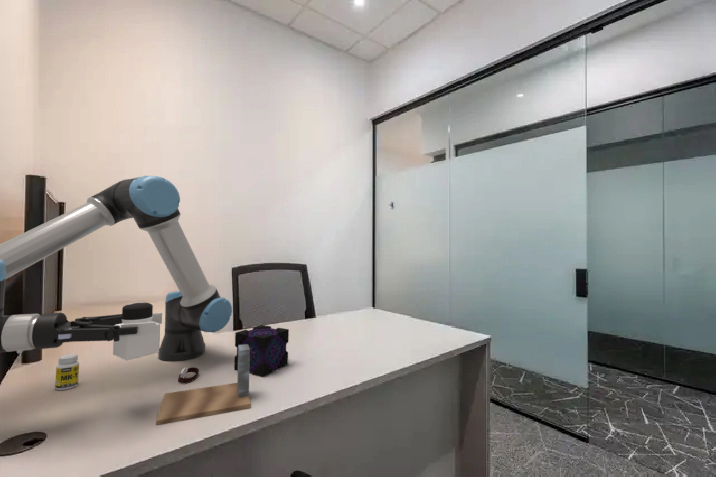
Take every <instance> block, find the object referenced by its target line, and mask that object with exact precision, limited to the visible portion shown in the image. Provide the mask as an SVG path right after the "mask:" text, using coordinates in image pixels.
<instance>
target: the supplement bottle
mask: <svg viewBox="0 0 716 477" xmlns="http://www.w3.org/2000/svg"><path fill="white" fill-rule="evenodd" d="M78 359H79V355H78V354H76V353H70V354H65V355H61V356H59V357H58V361H57V362H58V363H57V365H56V367H55V383H54V384H55V386H54V388H55V390H57V391H64V390H66V391H67V390H69V389H73V388H75V387H77V386H78V385H79V376H80V373H79V372H80V362H79V360H78Z"/></svg>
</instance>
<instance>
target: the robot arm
mask: <svg viewBox="0 0 716 477" xmlns="http://www.w3.org/2000/svg"><path fill="white" fill-rule="evenodd" d="M180 196H181V195H180V193H179V191H178V188H177V187H176V186H175V185H174V184H173V183H172V182H171V181H170V180H168V179H166V178H165V177H161V176H157V175H143V176H142V175H141V176H138V177H134V178H128V179H127V178H126V179H123V180H120V181H118V182H116V183H114V184H112V185H111V186H108V187H106V188H104V190H101V191H100V192H97V193H96V194H94V195H92V196H90V197H87V199H86V203H84V204H82V205H80V206H77V207H75V208H73V209H72V210H70V211H68V212H65V213H63V214H61V215H59V216H57V217H54V218H53V219H50V220H48V221H46V222H44V223H42V224H40V225H38V226H36V227H33V228H31V229H29V230H27V231H26V232H25V231H24V232H23V233H21V234H18V235H17V236H14V237H13V238H11V239H8V240H6V241H4V242H2V243H0V353H7V352H10V353H11V352H16V353H17V354H22V353H23V352H24V351H32V350H35V349H37V350H49V349H57V348H60V347H61V346H62V345H63V343H71V342H72V343H75V342H78V343H79V342H106V341H107V342H110V341H111V342H112V341H113V340H114V342H116V341H119V340H120V335H121V337H128V336H140V335H152V334H155V332H156V323H159V324H160V325H162V323H163V312H153V314H152V320H151V321H153V322H144V323H130V324H122V323H123V322H122V313H117V314H116V313H115V314H106V315H97V316H83V317H80V318H78V317H77V318H75V319H74V320H71V321H69V320H68V318H67V315H66V314H65V313H63V312H49V313H46V312H45V313H41V314H39V313H24V314H11V315H4V313H5V296H6V295H5V292H6V280H7V279H9V278H11V277H13V276H14V275H16V274H18V273H19V272H22V271H23V270H25V269H27V268H29V267H31V266H33V265H35V264H36V263H38V262H40V261H42V260H44V259H45V258H47V257H49V256H51V255H53V254H55V253H57V252H59V251H60V250H63V249H64V248H66V247H68V246H69V245H71V244H73V243H75V242H77V241H79V240H80V239H83V238H84V237H86V236H88V235H90V234H92V233H94V232H95V231H97V230H99V229H101V228H103V227H105V226H110V227H111V226H114V225H116V224H118V223H120V222H123V221H126V220H129V219H134V221H135V223H136V225H137V227H138V229H139V230H142V231H145V232H147V233H148V235H149V237H150V238H151V241H152V242H153V244H154V247H155V248H156V250H157V252H158V254H159V255H160V257H161V259H162V261H163V263H164V265H165V266H166V268H167V271H168V272H169V274H170V276H171V277H172V280H173V281H174V283H175V286H176V287H177V289H178V290H177V291H171V292H168V293H167V294H166V296H165V303H164V305H165V306H164V307H165V309H164V310H165V311H164V312H165V314H164V315H165V316H164V335H163V338H162V340H161V343H160V345H159V352H158V353H157V354H158V355H157V358H158V359H159V360H161V361H167V362H172V361H173V362H176V361H185V360H191V359H194V358H197V357H200V356H202V355H203V354H205V353H206V349H207V348H206V343H205V341H204V336H203V334H202V332H204V333H217V332H219V331H221V330H222V329H224V328H225V327H226V326H227V325H228V324H229V322H230V320H231V316H232V313H233V308H232V307H233V306H232V303H231V301H229V300H228V299H227V298H226V297H221V294H220V293H219V290H218V289H217V287H216V286H215V285H213V284H209V282H208V280H207V278H206V276H205V273H204V271H203V270H202V267H201V265H200V263H199V262H198V259H197V257H196V256H195V253H194V251H193V249H192V247H191V245H190V242H189V241H188V239H187V237H186V234H185V232H184V230H183V227H181V224H180V222H179V220H180V217H181V215H182V214H181V212H180V210H179V207H180V203H181V197H180ZM116 324H121V328H120V326H118V325H116ZM114 325H116V326H114Z"/></svg>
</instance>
